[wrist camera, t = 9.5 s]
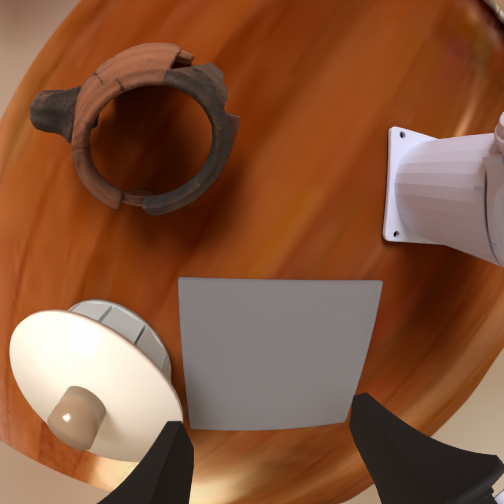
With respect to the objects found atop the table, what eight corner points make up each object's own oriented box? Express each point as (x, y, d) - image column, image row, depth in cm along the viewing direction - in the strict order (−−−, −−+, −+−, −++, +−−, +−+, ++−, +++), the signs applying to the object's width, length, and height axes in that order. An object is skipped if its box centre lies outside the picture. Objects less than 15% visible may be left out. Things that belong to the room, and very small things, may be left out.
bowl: (166, 304, 18) (147, 342, 14) (177, 409, 21) (169, 453, 16) (48, 293, 18) (12, 319, 13) (75, 392, 20) (54, 426, 15)
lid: (211, 366, 14) (207, 413, 11) (161, 473, 17) (156, 506, 13) (13, 273, 12) (-25, 293, 9) (22, 407, 15) (4, 433, 11)
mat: (379, 280, 19) (382, 282, 19) (343, 418, 22) (344, 421, 22) (179, 276, 18) (178, 279, 18) (191, 424, 21) (190, 428, 21)
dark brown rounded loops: (236, 53, 15) (274, 60, 10) (208, 172, 21) (225, 240, 15) (63, 45, 11) (0, 55, 5) (58, 167, 17) (16, 233, 11)
